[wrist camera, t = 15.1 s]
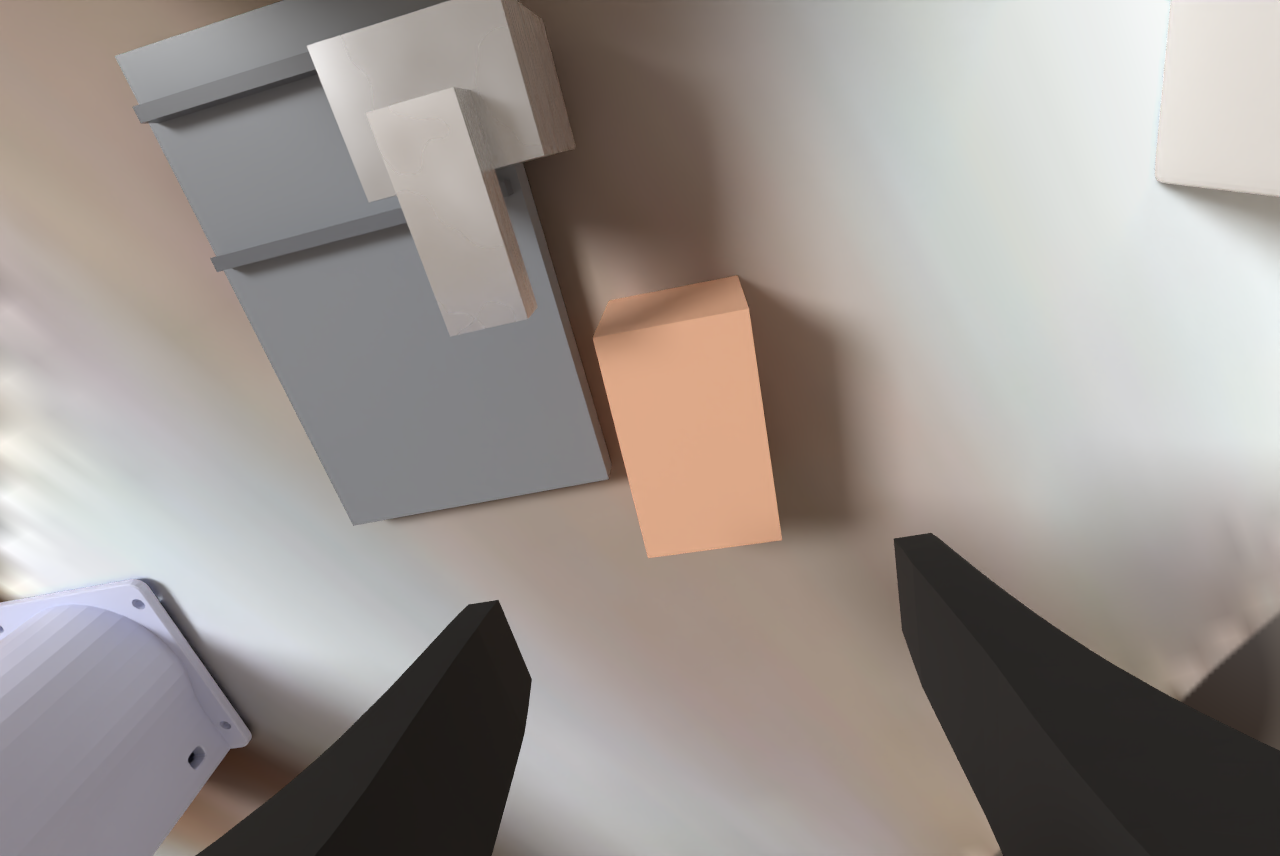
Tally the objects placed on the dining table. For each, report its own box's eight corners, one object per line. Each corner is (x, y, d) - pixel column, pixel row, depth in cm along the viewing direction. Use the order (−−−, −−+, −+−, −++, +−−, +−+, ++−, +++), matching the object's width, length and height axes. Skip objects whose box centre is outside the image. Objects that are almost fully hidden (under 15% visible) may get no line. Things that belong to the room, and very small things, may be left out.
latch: (605, 259, 18) (577, 307, 13) (475, 290, 19) (403, 347, 14) (542, 19, 16) (481, -26, 11) (395, 64, 16) (277, 39, 12)
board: (611, 464, 22) (606, 488, 21) (365, 510, 24) (345, 535, 22) (461, -45, 16) (439, -62, 15) (144, 59, 18) (95, 53, 16)
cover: (766, 472, 22) (782, 540, 19) (654, 489, 23) (648, 557, 19) (737, 274, 19) (748, 308, 16) (609, 299, 20) (592, 338, 16)
